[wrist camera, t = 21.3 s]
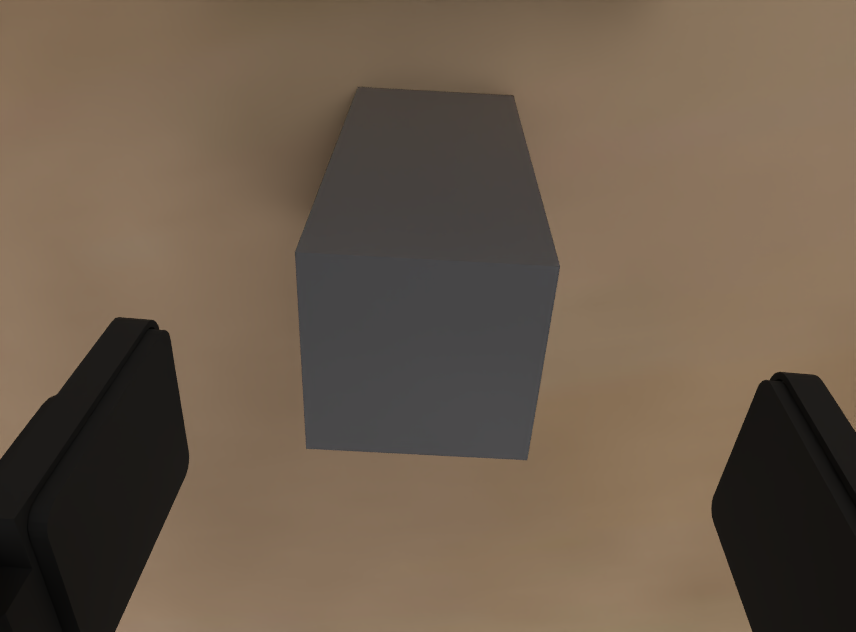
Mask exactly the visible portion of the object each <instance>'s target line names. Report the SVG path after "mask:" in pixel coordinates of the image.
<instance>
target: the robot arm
mask: <svg viewBox="0 0 856 632" xmlns="http://www.w3.org/2000/svg"><path fill="white" fill-rule="evenodd" d="M188 464H189V451H188V445H187V439H186V433H185V426H184V420H183V414H182V408H181V402H180V396H179V389H178V383H177V377H176V371H175V365H174V359H173V352H172V346H171V340H170V336H169V333H168V332H167V331H166V330H159V326H158V324H157V323H156V321H154V320H146V319H134V318H122V317H118V318H115V319H114V320H113V321H112V322H111V324H110V325H109V326H108V327H107V329H106V330H105V331H104V333H103V334H102V335H101V337H100V338H99V339H98V341H97V342H96V343H95V345H94V346H93V347H92V349H91V350H90V351H89V353H88V354H87V355H86V357H85V358H84V359H83V361H82V362H81V363H80V365H79V366H78V367H77V369H76V370H75V371H74V373H73V374H72V375H71V377H70V378H69V379H68V381H67V382H66V383H65V385H64V386H63V387H62V389H61V390H60V391H59V393H58V394H57V395H55V396H53V397H50V398H49V399H48V400H47V401H46V402H45V403H44V404H43V405H42V406H41V407H40V408H39V410H38V411H37V412H36V414H35V415H34V416H33V417H32V419H31V420H30V421H29V423H28V424H27V425H26V427H25V428H24V429H23V431H22V432H21V433H20V434H19V436H18V437H17V438H16V440H15V441H14V442H13V444H12V445H11V446H10V448H9V449H8V450H7V451H6V453H5V454H4V455H3V457H2V458H1V459H0V632H115V631H116V628H117V626H118V624H119V622H120V620H121V617H122V615H123V613H124V611H125V609H126V606H127V604H128V602H129V600H130V598H131V595H132V593H133V591H134V589H135V587H136V584H137V582H138V580H139V578H140V575H141V573H142V571H143V569H144V567H145V564H146V562H147V560H148V558H149V556H150V553H151V551H152V549H153V547H154V545H155V542H156V540H157V538H158V536H159V534H160V531H161V529H162V527H163V525H164V523H165V520H166V518H167V516H168V514H169V511H170V509H171V507H172V505H173V503H174V500H175V498H176V496H177V494H178V492H179V489H180V487H181V485H182V483H183V481H184V478H185V476H186V473H187V469H188ZM712 518H713V522H714V525H715V528H716V531H717V533H718V536H719V539H720V542H721V545H722V547H723V550H724V553H725V556H726V559H727V561H728V564H729V567H730V570H731V573H732V575H733V578H734V581H735V584H736V587H737V590H738V592H739V595H740V598H741V601H742V604H743V606H744V609H745V612H746V615H747V618H748V620H749V623H750V626H751V629H752V632H856V432H855V430H854V429H853V427H852V426H851V424H850V423H849V421H848V420H847V418H846V417H845V415H844V414H843V412H842V410H841V409H840V407H839V406H838V404H837V403H836V401H835V400H834V398H833V397H832V395H831V394H830V392H829V391H828V389H827V387H826V386H825V384H824V383H823V381H822V380H821V379H820V378H819V377H818V376H816V375H810V374H798V373H786V372H778V373H775V374H774V375H773V376H772V377H771V379H770V380H764V381H762V382H761V383H760V384H759V386H758V388H757V391H756V393H755V396H754V398H753V401H752V403H751V405H750V408H749V410H748V413H747V415H746V418H745V420H744V423H743V425H742V428H741V430H740V432H739V435H738V437H737V440H736V442H735V445H734V447H733V450H732V452H731V455H730V457H729V459H728V462H727V464H726V467H725V469H724V472H723V474H722V477H721V479H720V482H719V484H718V486H717V489H716V491H715V494H714V496H713V500H712Z"/></svg>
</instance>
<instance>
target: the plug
mask: <svg viewBox="0 0 856 632" xmlns="http://www.w3.org/2000/svg"><path fill="white" fill-rule="evenodd" d="M295 260H296V278H297V295H298V313H299V330H300V348H301V365H302V383H303V400H304V418H305V435H306V449H323V450H343V451H362V452H381V453H400V454H419V455H439V456H458V457H477V458H496V459H516V460H527V458H528V452H529V446H530V440H531V434H532V429H533V423H534V417H535V411H536V405H537V399H538V393H539V387H540V381H541V375H542V370H543V364H544V358H545V352H546V346H547V340H548V334H549V328H550V322H551V316H552V311H553V305H554V299H555V293H556V287H557V281H558V275H559V269H560V265H559V261H558V257H557V254H556V250H555V246H554V243H553V239H552V235H551V232H550V228H549V224H548V221H547V217H546V213H545V210H544V206H543V202H542V199H541V195H540V191H539V188H538V184H537V180H536V177H535V173H534V169H533V166H532V162H531V158H530V155H529V151H528V147H527V144H526V140H525V136H524V133H523V129H522V125H521V122H520V118H519V114H518V111H517V107H516V103H515V100H514V96H512V95H494V94H476V93H458V92H440V91H422V90H404V89H387V88H369V87H358V88H357V91H356V93H355V96H354V98H353V101H352V104H351V106H350V109H349V112H348V114H347V117H346V119H345V122H344V125H343V127H342V130H341V133H340V135H339V138H338V141H337V143H336V146H335V148H334V151H333V154H332V156H331V159H330V162H329V164H328V167H327V169H326V172H325V175H324V177H323V180H322V183H321V185H320V188H319V190H318V193H317V196H316V198H315V201H314V204H313V206H312V209H311V212H310V214H309V217H308V219H307V222H306V225H305V227H304V230H303V233H302V235H301V238H300V240H299V243H298V246H297V248H296V251H295Z"/></svg>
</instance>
